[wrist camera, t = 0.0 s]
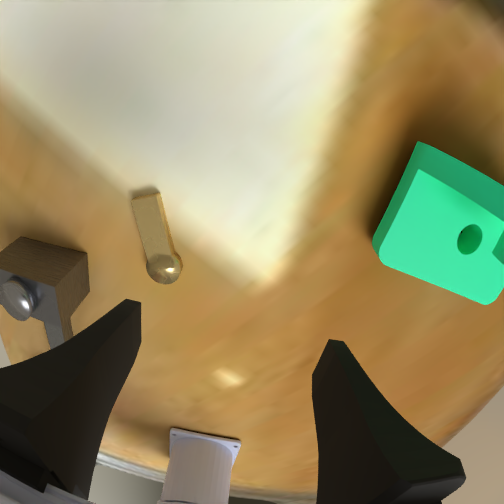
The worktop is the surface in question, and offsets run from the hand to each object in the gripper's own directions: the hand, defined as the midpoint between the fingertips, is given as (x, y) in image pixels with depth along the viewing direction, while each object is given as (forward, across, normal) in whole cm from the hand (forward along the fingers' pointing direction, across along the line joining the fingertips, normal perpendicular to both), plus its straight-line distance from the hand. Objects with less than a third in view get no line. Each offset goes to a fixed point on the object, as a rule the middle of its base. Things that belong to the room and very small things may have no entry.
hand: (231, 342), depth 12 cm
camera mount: (+10, -14, -4) cm, 18 cm away
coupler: (+10, +15, +11) cm, 21 cm away
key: (+10, +6, +1) cm, 12 cm away
